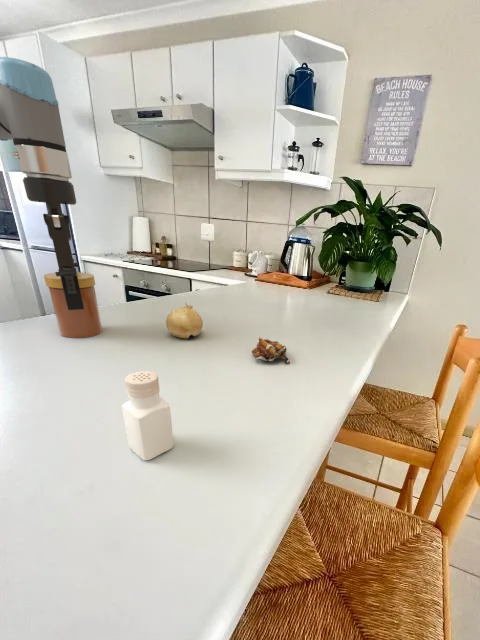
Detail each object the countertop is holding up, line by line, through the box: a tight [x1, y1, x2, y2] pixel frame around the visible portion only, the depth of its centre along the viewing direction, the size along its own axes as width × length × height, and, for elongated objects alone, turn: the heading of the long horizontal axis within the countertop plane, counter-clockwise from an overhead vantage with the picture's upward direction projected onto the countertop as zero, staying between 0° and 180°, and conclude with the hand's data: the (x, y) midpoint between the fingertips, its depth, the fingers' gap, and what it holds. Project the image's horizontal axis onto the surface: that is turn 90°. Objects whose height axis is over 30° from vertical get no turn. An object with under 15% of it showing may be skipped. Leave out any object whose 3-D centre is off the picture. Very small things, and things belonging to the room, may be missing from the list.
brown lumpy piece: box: [251, 336, 291, 365], centre depth 68 cm, size 7×12×4 cm, turn 15°
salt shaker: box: [121, 370, 175, 461], centre depth 36 cm, size 4×4×10 cm
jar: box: [47, 285, 103, 339], centre depth 69 cm, size 8×8×12 cm
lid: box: [43, 271, 96, 289], centre depth 66 cm, size 9×9×2 cm
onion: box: [165, 302, 204, 339], centre depth 73 cm, size 8×8×7 cm
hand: (75, 303), depth 68 cm, fingers closed on lid, 9 cm apart
